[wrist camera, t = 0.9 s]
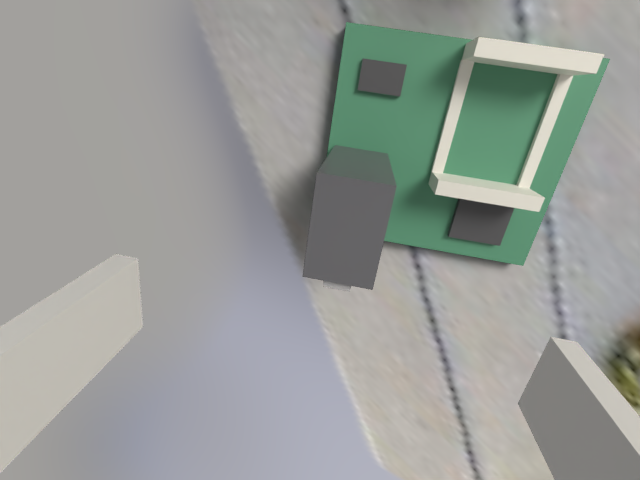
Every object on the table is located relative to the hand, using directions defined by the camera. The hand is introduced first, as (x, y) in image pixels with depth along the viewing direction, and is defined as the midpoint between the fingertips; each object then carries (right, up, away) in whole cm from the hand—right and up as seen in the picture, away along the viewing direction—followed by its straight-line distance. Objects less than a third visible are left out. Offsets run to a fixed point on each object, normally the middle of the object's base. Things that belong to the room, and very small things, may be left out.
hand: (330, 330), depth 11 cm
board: (+9, +10, +16) cm, 20 cm away
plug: (+2, +7, +16) cm, 18 cm away
